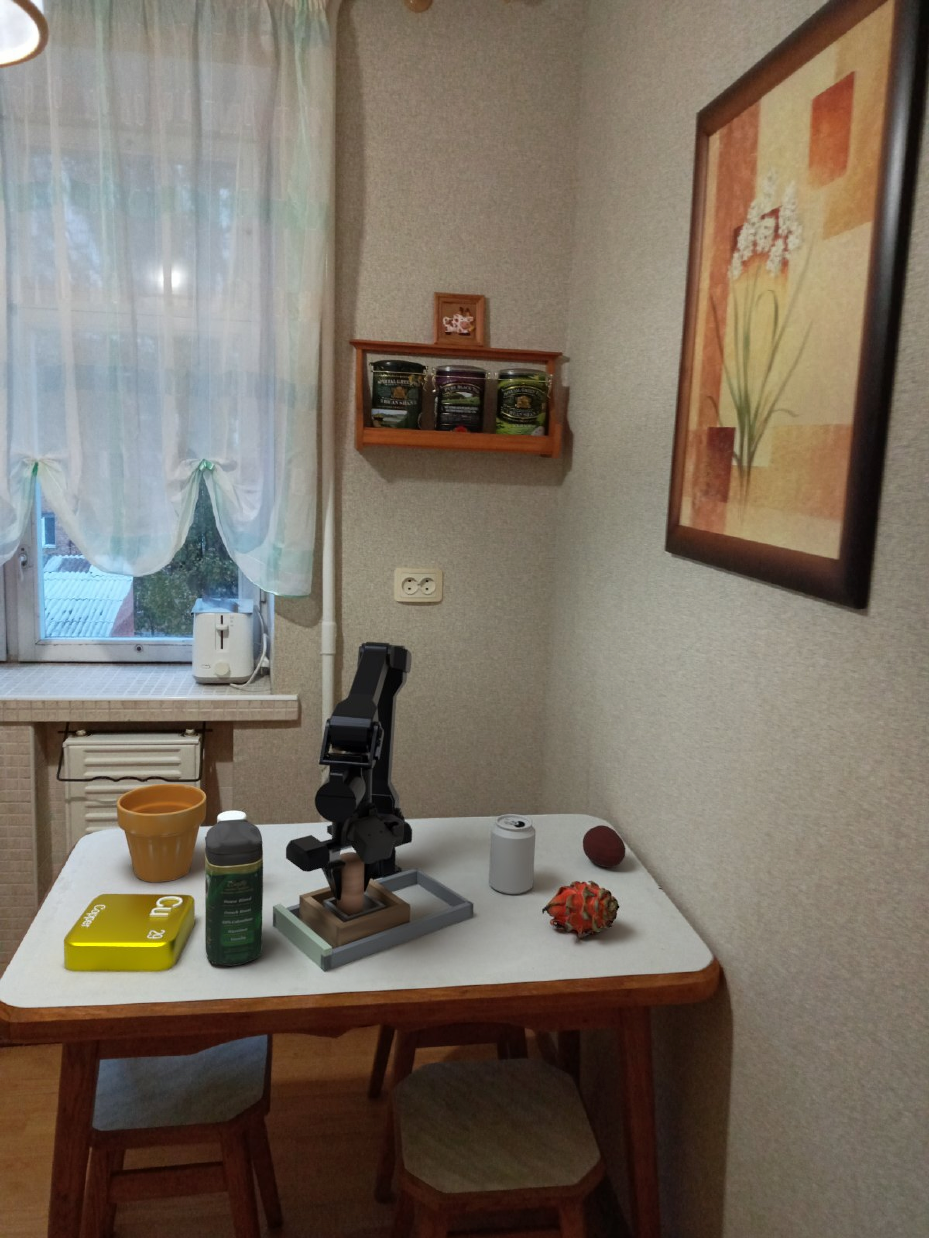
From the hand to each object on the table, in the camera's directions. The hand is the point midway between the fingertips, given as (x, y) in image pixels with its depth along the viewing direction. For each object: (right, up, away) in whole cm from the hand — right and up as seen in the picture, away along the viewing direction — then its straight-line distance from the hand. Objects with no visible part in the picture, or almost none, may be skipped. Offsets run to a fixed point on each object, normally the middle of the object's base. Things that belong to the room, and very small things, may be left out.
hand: (350, 895), depth 133 cm
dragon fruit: (+35, -7, +4) cm, 36 cm away
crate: (0, -5, +1) cm, 6 cm away
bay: (+3, -5, +4) cm, 7 cm away
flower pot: (-34, -2, +18) cm, 39 cm away
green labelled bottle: (-16, -6, -5) cm, 18 cm away
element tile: (-31, -6, -4) cm, 32 cm away
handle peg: (0, -4, +1) cm, 4 cm away
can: (+25, -4, +17) cm, 31 cm away
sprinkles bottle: (-21, -3, +11) cm, 24 cm away
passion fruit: (+42, -3, +28) cm, 51 cm away
